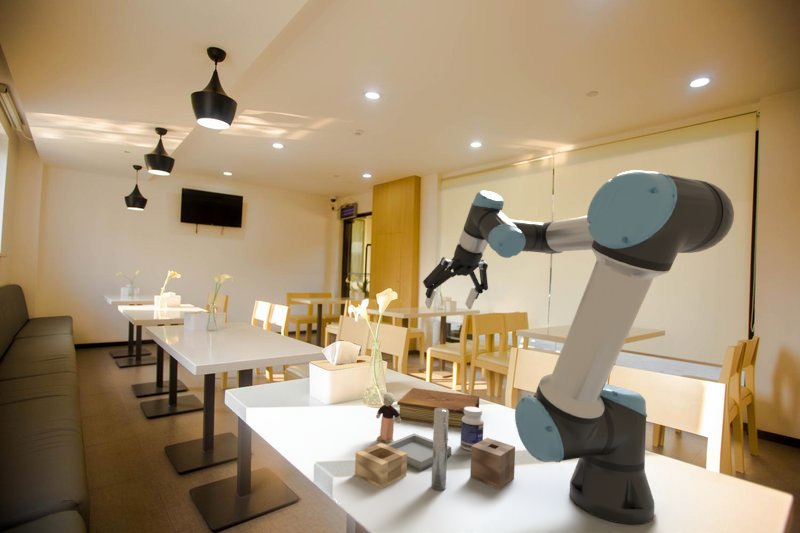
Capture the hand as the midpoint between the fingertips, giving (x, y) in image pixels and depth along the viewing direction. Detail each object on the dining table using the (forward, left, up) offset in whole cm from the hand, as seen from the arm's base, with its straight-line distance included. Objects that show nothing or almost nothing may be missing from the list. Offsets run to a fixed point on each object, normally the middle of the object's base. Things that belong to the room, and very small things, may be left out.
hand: (448, 306), depth 123 cm
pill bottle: (-14, +8, -36) cm, 39 cm away
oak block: (-8, +36, -36) cm, 51 cm away
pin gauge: (-20, +31, -36) cm, 51 cm away
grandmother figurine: (+4, +21, -36) cm, 41 cm away
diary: (+7, -7, -36) cm, 38 cm away
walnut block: (-26, +19, -36) cm, 48 cm away
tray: (-7, +22, -36) cm, 42 cm away
